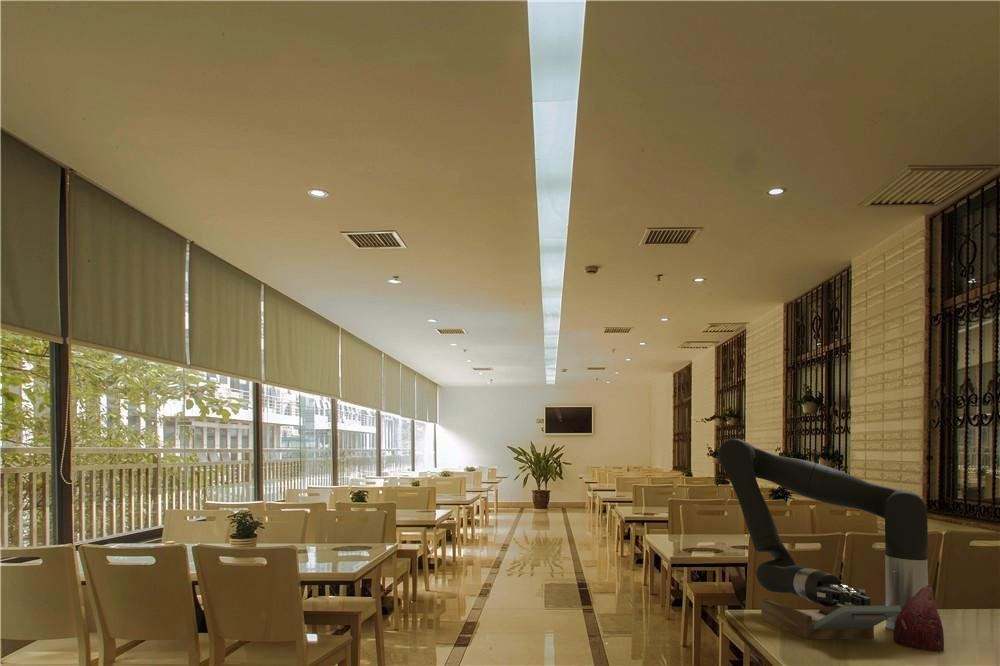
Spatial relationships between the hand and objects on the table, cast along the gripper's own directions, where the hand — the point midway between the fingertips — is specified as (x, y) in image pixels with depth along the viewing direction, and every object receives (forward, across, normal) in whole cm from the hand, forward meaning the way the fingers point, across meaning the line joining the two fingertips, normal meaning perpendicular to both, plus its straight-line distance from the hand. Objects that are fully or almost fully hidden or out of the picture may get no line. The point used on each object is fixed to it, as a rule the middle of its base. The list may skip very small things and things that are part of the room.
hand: (867, 603), depth 170 cm
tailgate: (-9, 0, +8) cm, 12 cm away
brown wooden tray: (-18, 0, +10) cm, 21 cm away
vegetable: (-4, +16, +10) cm, 19 cm away
